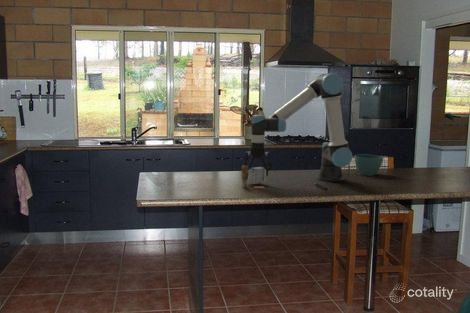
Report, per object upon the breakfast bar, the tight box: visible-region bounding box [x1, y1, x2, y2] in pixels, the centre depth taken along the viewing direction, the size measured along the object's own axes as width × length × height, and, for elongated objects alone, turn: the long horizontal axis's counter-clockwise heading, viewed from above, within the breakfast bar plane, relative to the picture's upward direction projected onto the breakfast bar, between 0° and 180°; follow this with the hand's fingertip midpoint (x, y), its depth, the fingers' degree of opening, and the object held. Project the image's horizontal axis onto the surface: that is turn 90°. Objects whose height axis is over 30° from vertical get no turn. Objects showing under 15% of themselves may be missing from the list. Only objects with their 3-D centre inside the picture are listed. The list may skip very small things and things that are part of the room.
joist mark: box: [253, 185, 266, 189], centre depth 282 cm, size 6×4×1 cm, turn 89°
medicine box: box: [249, 166, 266, 185], centre depth 291 cm, size 8×4×9 cm, turn 131°
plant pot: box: [354, 153, 384, 177], centre depth 331 cm, size 18×18×12 cm
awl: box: [241, 165, 248, 189], centre depth 281 cm, size 3×3×12 cm
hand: (256, 181), depth 291 cm, fingers closed on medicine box, 9 cm apart
